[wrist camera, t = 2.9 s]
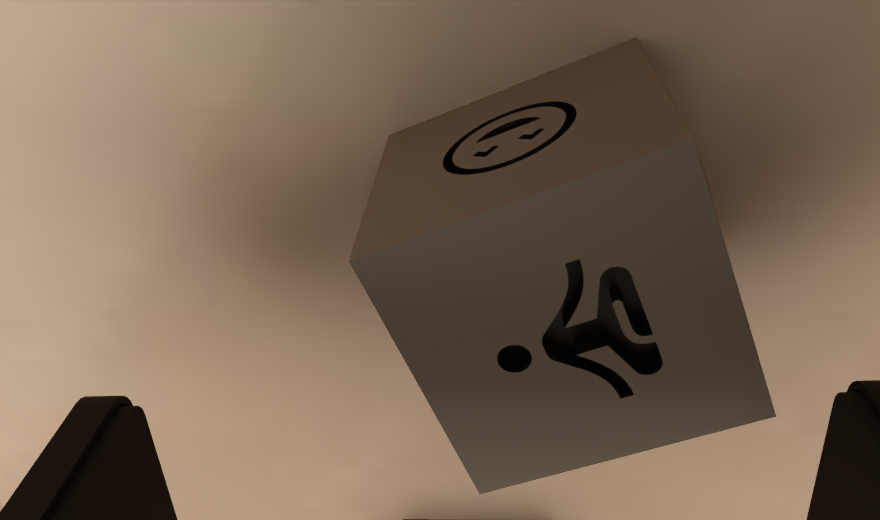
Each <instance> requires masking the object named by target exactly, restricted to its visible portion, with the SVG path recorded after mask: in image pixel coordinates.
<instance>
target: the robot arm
mask: <svg viewBox="0 0 880 520" xmlns="http://www.w3.org/2000/svg"><path fill="white" fill-rule="evenodd" d="M0 520H177V517H176V514H175V511H174V507H173V504H172V501H171V498H170V494H169V491H168V488H167V485H166V481H165V478H164V475H163V472H162V468H161V465H160V462H159V459H158V455H157V452H156V449H155V446H154V442H153V439H152V436H151V433H150V429H149V426H148V423H147V420H146V416H145V414H144V411H143V409H142V408H141V407H139V406H133V405H132V403H131V401H130V400H129V399H128V398H127V397H125V396H93V397H83V398H81V399H80V400H79V401H78V402H77V403H76V404H75V406H74V407H73V408H72V410H71V411H70V413H69V414H68V416H67V417H66V418H65V420H64V421H63V423H62V424H61V426H60V427H59V429H58V430H57V431H56V433H55V434H54V436H53V437H52V439H51V440H50V442H49V443H48V444H47V446H46V447H45V449H44V450H43V452H42V453H41V454H40V456H39V457H38V459H37V460H36V462H35V463H34V465H33V466H32V467H31V469H30V470H29V472H28V473H27V475H26V476H25V477H24V479H23V480H22V482H21V483H20V485H19V486H18V488H17V489H16V490H15V492H14V493H13V495H12V496H11V498H10V499H9V501H8V502H7V503H6V505H5V506H4V508H3V509H2V510H1V512H0ZM807 520H880V380H878V381H855V382H852V383H851V385H850V386H849V388H848V390H847V392H841V393H838V394H837V395H836V396H835V399H834V402H833V407H832V411H831V415H830V420H829V424H828V429H827V433H826V437H825V442H824V446H823V451H822V455H821V459H820V464H819V468H818V472H817V477H816V481H815V486H814V490H813V494H812V499H811V503H810V508H809V512H808V516H807Z"/></svg>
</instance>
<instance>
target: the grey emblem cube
mask: <svg viewBox="0 0 880 520" xmlns="http://www.w3.org/2000/svg"><path fill="white" fill-rule="evenodd" d="M349 262H350V264H351V265H352V267H353V269H354V271H355V273H356V274H357V276H358V278H359V280H360V281H361V283H362V285H363V287H364V289H365V290H366V292H367V294H368V296H369V297H370V299H371V301H372V303H373V305H374V306H375V308H376V310H377V312H378V314H379V315H380V317H381V319H382V321H383V322H384V324H385V326H386V328H387V330H388V331H389V333H390V335H391V337H392V338H393V340H394V342H395V344H396V346H397V347H398V349H399V351H400V353H401V354H402V356H403V358H404V360H405V362H406V363H407V365H408V367H409V369H410V371H411V372H412V374H413V376H414V378H415V379H416V381H417V383H418V385H419V387H420V388H421V390H422V392H423V394H424V395H425V397H426V399H427V401H428V403H429V404H430V406H431V408H432V410H433V411H434V413H435V415H436V417H437V419H438V420H439V422H440V424H441V426H442V427H443V429H444V431H445V433H446V435H447V436H448V438H449V440H450V442H451V444H452V445H453V447H454V449H455V451H456V452H457V454H458V456H459V458H460V460H461V461H462V463H463V465H464V467H465V468H466V470H467V472H468V474H469V476H470V477H471V479H472V481H473V483H474V484H475V486H476V488H477V490H478V492H479V493H480V494H482V493H486V492H490V491H493V490H497V489H501V488H505V487H509V486H512V485H516V484H520V483H524V482H528V481H532V480H535V479H539V478H543V477H547V476H551V475H554V474H558V473H562V472H566V471H570V470H573V469H577V468H581V467H585V466H589V465H593V464H596V463H600V462H604V461H608V460H612V459H615V458H619V457H623V456H627V455H631V454H634V453H638V452H642V451H646V450H650V449H654V448H657V447H661V446H665V445H669V444H673V443H676V442H680V441H684V440H688V439H692V438H695V437H699V436H703V435H707V434H711V433H715V432H718V431H722V430H726V429H730V428H734V427H737V426H741V425H745V424H749V423H753V422H756V421H760V420H764V419H768V418H772V417H776V415H775V411H774V408H773V404H772V401H771V398H770V394H769V391H768V388H767V384H766V381H765V378H764V374H763V371H762V367H761V364H760V361H759V357H758V354H757V351H756V347H755V344H754V340H753V337H752V334H751V330H750V327H749V324H748V320H747V317H746V313H745V310H744V307H743V303H742V300H741V297H740V293H739V290H738V286H737V283H736V280H735V276H734V273H733V270H732V266H731V263H730V259H729V256H728V253H727V249H726V246H725V243H724V239H723V236H722V232H721V229H720V226H719V222H718V219H717V216H716V212H715V209H714V206H713V202H712V199H711V195H710V192H709V189H708V185H707V182H706V179H705V175H704V172H703V168H702V165H701V162H700V158H699V155H698V152H697V148H696V145H695V141H694V138H693V136H692V135H691V133H690V131H689V129H688V128H687V126H686V124H685V123H684V121H683V119H682V117H681V116H680V114H679V112H678V110H677V109H676V107H675V105H674V104H673V102H672V100H671V98H670V97H669V95H668V93H667V91H666V90H665V88H664V86H663V85H662V83H661V81H660V79H659V78H658V76H657V74H656V72H655V71H654V69H653V67H652V66H651V64H650V62H649V60H648V59H647V57H646V55H645V54H644V52H643V50H642V48H641V47H640V45H639V43H638V41H637V40H636V38H634V39H631V40H629V41H626V42H624V43H621V44H619V45H616V46H614V47H611V48H609V49H606V50H604V51H601V52H598V53H596V54H593V55H591V56H588V57H586V58H583V59H581V60H578V61H576V62H573V63H571V64H568V65H566V66H563V67H561V68H558V69H556V70H553V71H551V72H548V73H546V74H543V75H541V76H538V77H536V78H533V79H531V80H528V81H526V82H523V83H520V84H518V85H515V86H513V87H510V88H508V89H505V90H503V91H500V92H498V93H495V94H493V95H490V96H488V97H485V98H483V99H480V100H478V101H475V102H473V103H470V104H468V105H465V106H463V107H460V108H458V109H455V110H453V111H450V112H447V113H445V114H442V115H440V116H437V117H435V118H432V119H430V120H427V121H425V122H422V123H420V124H417V125H415V126H412V127H410V128H407V129H405V130H402V131H400V132H397V133H395V134H392V135H390V136H389V137H388V141H387V144H386V147H385V150H384V153H383V156H382V160H381V163H380V166H379V169H378V172H377V175H376V178H375V182H374V185H373V188H372V191H371V194H370V197H369V200H368V204H367V207H366V210H365V213H364V216H363V219H362V222H361V226H360V229H359V232H358V235H357V238H356V241H355V244H354V248H353V251H352V254H351V257H350V260H349Z"/></svg>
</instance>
